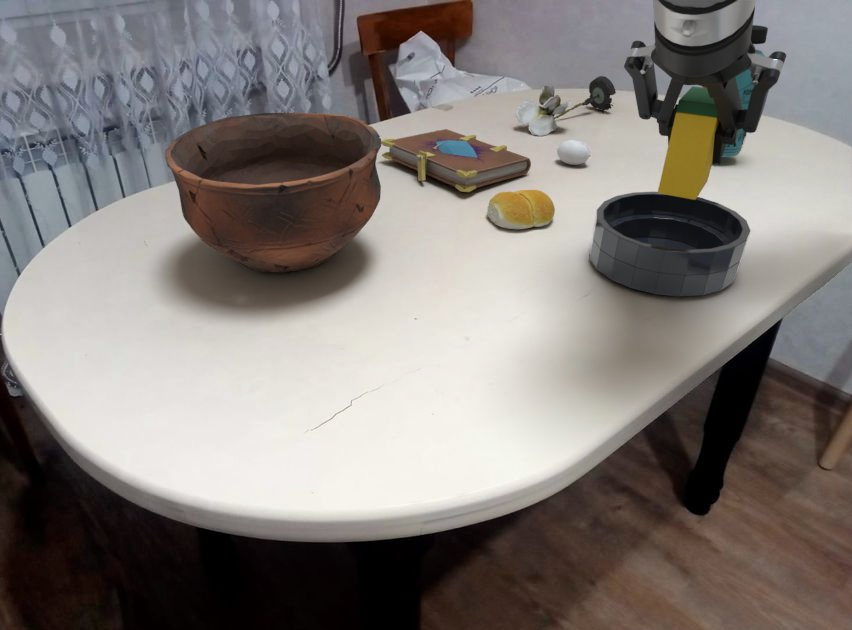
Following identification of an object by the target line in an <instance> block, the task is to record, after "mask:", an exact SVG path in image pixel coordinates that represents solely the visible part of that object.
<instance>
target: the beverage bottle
mask: <svg viewBox="0 0 852 630" xmlns="http://www.w3.org/2000/svg"><path fill="white" fill-rule="evenodd" d="M768 31H769V28H768V27H767V26H764V25H757V24H756V25H755V24H753V26H752V33H751V42H752V44H753V45H763V44H765V43H766V41H767V35H768ZM755 53H757V54H760V55H763V56H766V54H765V53H764V52H763V51H762V50H759V49H755ZM750 75H751V71H750V70H749V69H747V70H746V71H744V72H743V73H741V74H739V75H738V76H736V77H735V78H736V82H737V86H738V90H739V94H740V98H741V102H742V106H743V110H746V109H748V105H749V101H750V96H751V93H752V90H753V87H754V84H752V80H753V78H752V77H751V76H750ZM747 135H748V133H747V132H745V131H743V129H740V130H739V134H738V136H737V139H736V142H735V144H733V145H728V144H726V147H725V150H724V153H723V156H722V158H732V157H736V156H739V154H740V153H741V151H742V149H743V147H744V143H745V142H746V140H745V139H746V137H747Z"/></svg>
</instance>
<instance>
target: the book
mask: <svg viewBox="0 0 852 630" xmlns="http://www.w3.org/2000/svg"><path fill="white" fill-rule="evenodd" d="M381 146H384V147H387V148H389V150H388V151H385V152H384V153H382V154H381V157H383V159H385V160H391V161H394V162H396V163H399V164H401V165H403V166H406V167H408V168H410V169H413V170H415V171H417V181H418V182H422V181H426V176H428V177H431V178H434V179H436V180H438V181H440V182H442V183H445V184H448V185H450V186H452V187H454V188H455V189H456V190H457V191H459V192H464V193H470V192H472V191H473V190H474V191H475V190H476V189H477V188H481V187H484V186H487V185H491V184H494V183H498V182H501V181H505V180H509V179H513V178H516V177H520V176H524V175H528V173H529V171H530V169H531V166H532V161H531V158H529V157H527V156H524V155H521V154H520V153H519V154H518V153H516V152H512V151H510V150H508V146H507V145H505V144H502V145H498V146H496V145H493V144H490V143H487V142H484V141H482V140H479V139H477V135H476V134H470V135H465V134H461V133H459V132H456V131H452V130H450V129H448V128H445V129H440V130H435V131H430V132H423V133H419V134H415V135H409V136H404V137H400V138H399V137H398V138H384V139H383V140H381Z"/></svg>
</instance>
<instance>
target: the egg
mask: <svg viewBox="0 0 852 630" xmlns="http://www.w3.org/2000/svg"><path fill="white" fill-rule="evenodd" d="M556 154H557V156H558V158H559V160H560V161H562V162H563V163H565V164H567V165H572V166H579V165H582V164H584V163H586V162H587V161H588V160H589V159H590V157H591V150H590V148H589V146H588V145H587V144H586V143H584V142H583V141H580V140H577V139H569V140H565V141H563V142H561V143H560V144H559V145H558V147H557V148H556Z"/></svg>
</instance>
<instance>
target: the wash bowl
mask: <svg viewBox="0 0 852 630" xmlns="http://www.w3.org/2000/svg"><path fill="white" fill-rule="evenodd" d="M592 229H593V231H592V236H591V242H590V247H589V261H590V262H591V263H592V265H593V266H594V268H595V269H596V270H597V271H598V272H600V273H601V274H602V275H604V276H605V277H607V278H608V279H609V280H611V281H612V282H615V283H618V284H620V285H622V286H624V287H627V288H629V289H633V290H637V291H641V292H645V293H648V294H652V295H659V296H668V297H669V296H670V297H694V296H696V297H697V296H704V295H709V294H711V293H716V292H720V291H722V290H724V289H725V288H727V287H728V286H730V285H732V284H733V283H734V281H735V279H736V276H737V274H738V272H739V268H740V265H741V262H742V259H743V257H744V252H745V249H746V247H747V243H748V240H749V237H750V234H751V228H750V226H749V223H748V221H747V219H745V218H744V217H743V216H741V215H740V214H739V213H738V212H737V211H735V210H733V209H731V208H730V207H727V206H725V205H723V204H721V203H719V202H716V201H713V200H709V199H706V198H703V197H700V196H698V197H697V198H696V200H692V199H687V198H682V197H676V196H671V195H666V194H661V193H658V191H637V192H629V193H625V194H619V195H615V196H613V197H611V198H608V199H607V200H605V201H603V202H602V203H601V204H600V205H599V207H598V208H597V209H596V211H595V218H594V224H593V228H592Z"/></svg>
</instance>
